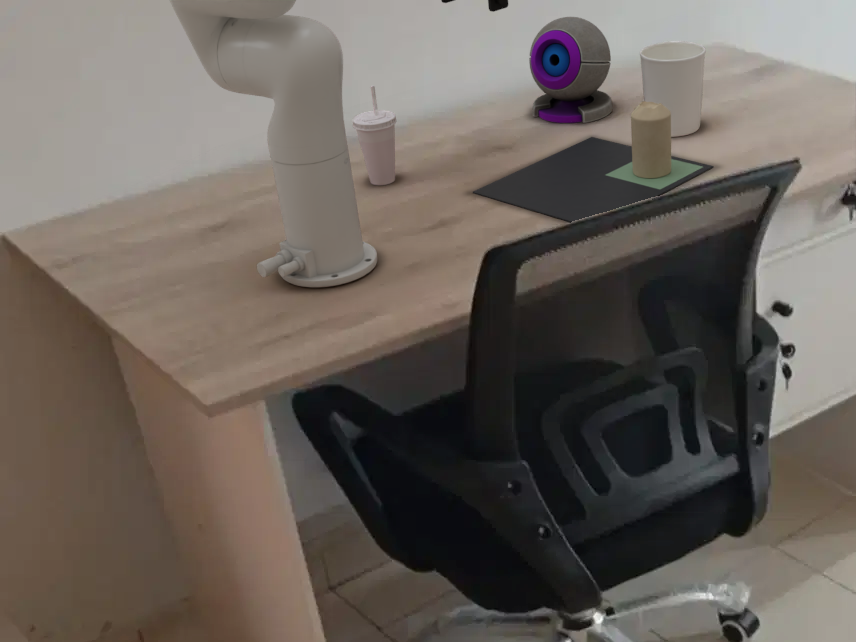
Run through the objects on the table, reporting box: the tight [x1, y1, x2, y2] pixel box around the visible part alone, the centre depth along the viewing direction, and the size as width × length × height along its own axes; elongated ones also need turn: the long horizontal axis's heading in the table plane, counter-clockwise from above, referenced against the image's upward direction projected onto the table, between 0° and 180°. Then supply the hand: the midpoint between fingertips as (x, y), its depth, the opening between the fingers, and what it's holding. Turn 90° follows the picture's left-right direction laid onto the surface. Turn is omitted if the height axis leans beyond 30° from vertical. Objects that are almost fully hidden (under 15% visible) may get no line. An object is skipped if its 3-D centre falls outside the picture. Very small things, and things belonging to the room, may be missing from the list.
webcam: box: [529, 16, 613, 124], centre depth 200 cm, size 13×13×15 cm
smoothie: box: [351, 85, 397, 186], centre depth 181 cm, size 6×6×14 cm
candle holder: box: [639, 40, 707, 138], centre depth 190 cm, size 10×10×12 cm
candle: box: [630, 100, 672, 178], centre depth 175 cm, size 6×6×10 cm
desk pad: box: [472, 136, 714, 223], centre depth 178 cm, size 26×23×1 cm
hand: (474, 4), depth 173 cm, fingers open, 9 cm apart
